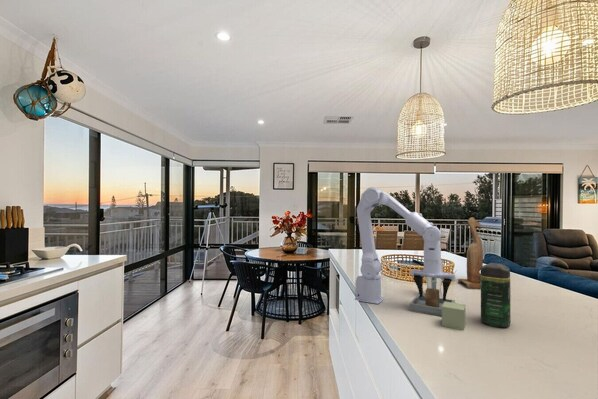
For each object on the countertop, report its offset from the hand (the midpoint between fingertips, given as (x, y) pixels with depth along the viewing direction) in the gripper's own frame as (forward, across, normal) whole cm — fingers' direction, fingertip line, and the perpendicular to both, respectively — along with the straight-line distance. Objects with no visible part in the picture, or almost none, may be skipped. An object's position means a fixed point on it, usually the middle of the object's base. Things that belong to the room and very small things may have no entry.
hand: (432, 297), depth 109 cm
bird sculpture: (+4, +11, +44) cm, 46 cm away
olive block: (+4, +8, -12) cm, 15 cm away
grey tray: (+4, 0, 0) cm, 4 cm away
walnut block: (+3, 0, 0) cm, 3 cm away
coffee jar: (+4, +19, -3) cm, 20 cm away
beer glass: (+4, -2, +16) cm, 17 cm away
